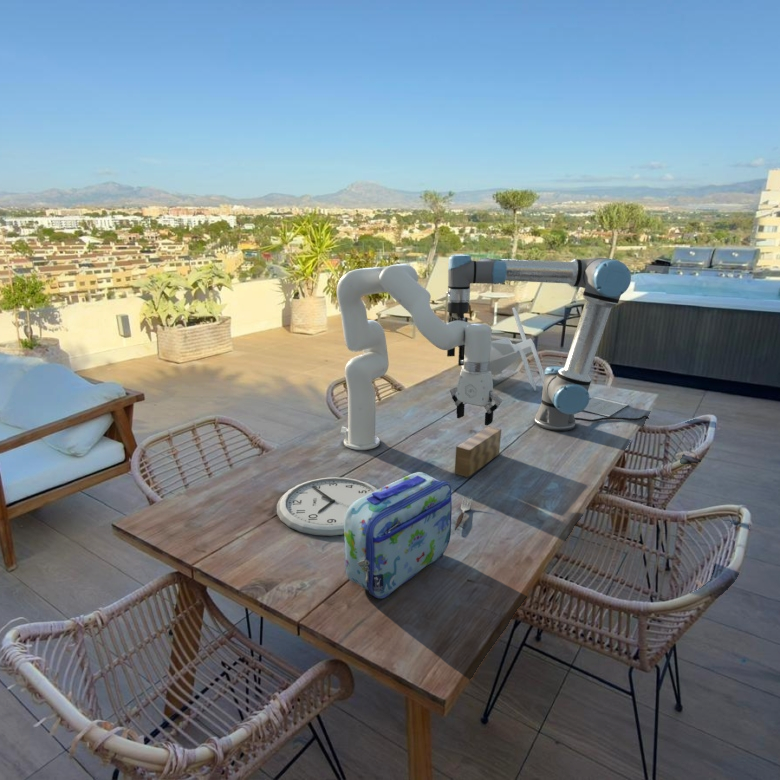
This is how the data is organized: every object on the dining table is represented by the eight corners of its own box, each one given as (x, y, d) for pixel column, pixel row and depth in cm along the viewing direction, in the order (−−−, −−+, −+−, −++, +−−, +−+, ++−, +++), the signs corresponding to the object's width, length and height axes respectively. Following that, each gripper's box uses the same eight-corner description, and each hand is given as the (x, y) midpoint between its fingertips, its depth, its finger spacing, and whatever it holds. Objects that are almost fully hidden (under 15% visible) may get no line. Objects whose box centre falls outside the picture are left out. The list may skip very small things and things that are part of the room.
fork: (449, 531, 131) (450, 524, 131) (463, 501, 146) (463, 495, 145) (459, 533, 130) (460, 526, 130) (472, 503, 145) (473, 496, 144)
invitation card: (608, 416, 214) (573, 407, 224) (608, 416, 214) (573, 408, 224) (628, 404, 229) (594, 396, 238) (628, 405, 229) (594, 397, 238)
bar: (486, 450, 180) (488, 426, 177) (499, 454, 177) (501, 429, 174) (454, 473, 163) (456, 446, 160) (467, 477, 160) (469, 450, 157)
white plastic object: (482, 419, 265) (461, 396, 241) (463, 346, 287) (443, 319, 263) (553, 395, 253) (539, 368, 228) (528, 321, 275) (513, 290, 250)
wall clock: (392, 527, 129) (268, 531, 127) (391, 533, 130) (269, 537, 127) (383, 473, 158) (282, 475, 155) (383, 478, 158) (282, 480, 156)
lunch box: (372, 611, 103) (373, 518, 97) (338, 585, 111) (336, 497, 104) (455, 557, 121) (460, 475, 115) (420, 537, 128) (424, 459, 122)
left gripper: (445, 364, 156) (443, 417, 161) (496, 373, 146) (493, 430, 151) (458, 359, 162) (456, 411, 167) (509, 368, 152) (505, 423, 157)
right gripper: (438, 296, 192) (437, 353, 198) (459, 306, 168) (456, 370, 174) (457, 296, 193) (456, 352, 199) (481, 305, 169) (478, 368, 176)
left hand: (474, 420), depth 159 cm, fingers open, 9 cm apart
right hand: (456, 360), depth 187 cm, fingers open, 13 cm apart
